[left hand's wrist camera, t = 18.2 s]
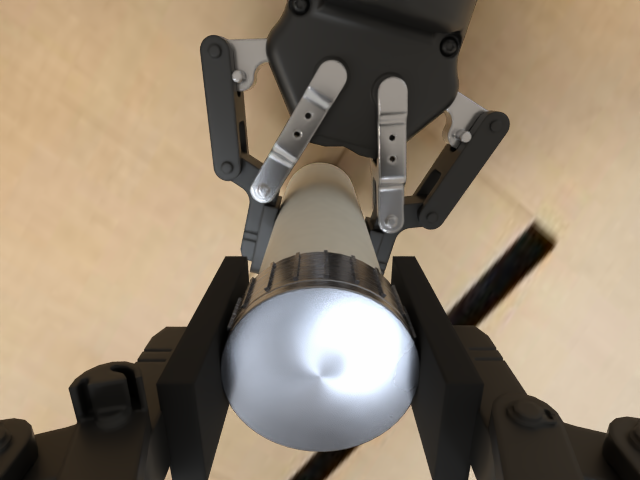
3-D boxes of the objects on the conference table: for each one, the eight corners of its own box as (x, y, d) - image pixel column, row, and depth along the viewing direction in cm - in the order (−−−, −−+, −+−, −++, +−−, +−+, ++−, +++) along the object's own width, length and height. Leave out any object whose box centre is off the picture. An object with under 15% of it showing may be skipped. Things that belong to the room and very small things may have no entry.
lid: (263, 222, 11) (252, 252, 9) (436, 282, 12) (460, 323, 10) (213, 369, 13) (193, 423, 11) (366, 415, 14) (374, 473, 12)
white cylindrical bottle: (369, 194, 27) (439, 353, 11) (322, 242, 28) (326, 449, 12) (317, 147, 26) (312, 248, 10) (270, 199, 27) (202, 364, 11)
